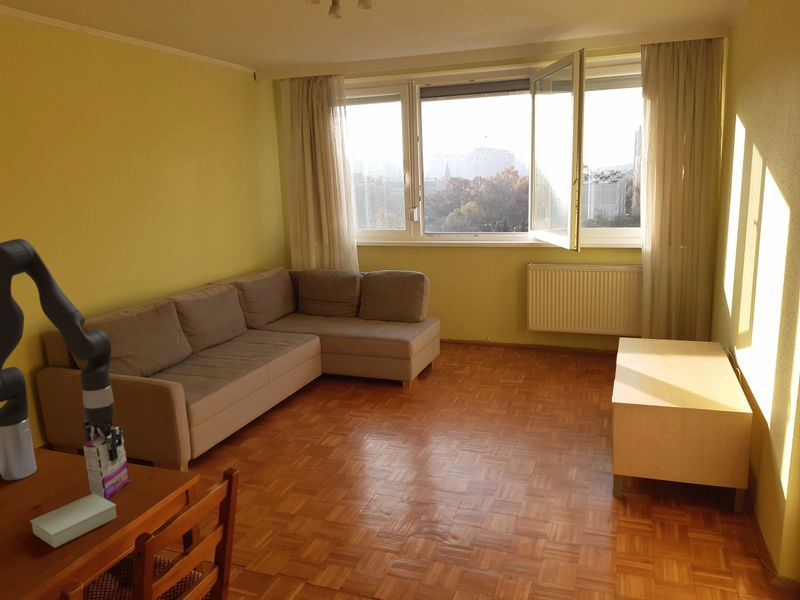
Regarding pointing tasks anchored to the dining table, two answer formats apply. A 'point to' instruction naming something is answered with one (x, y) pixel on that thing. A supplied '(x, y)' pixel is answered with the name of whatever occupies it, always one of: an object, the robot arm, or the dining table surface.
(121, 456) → the candy bar box
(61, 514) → the keepsake box
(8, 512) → the dining table surface
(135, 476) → the dining table surface
